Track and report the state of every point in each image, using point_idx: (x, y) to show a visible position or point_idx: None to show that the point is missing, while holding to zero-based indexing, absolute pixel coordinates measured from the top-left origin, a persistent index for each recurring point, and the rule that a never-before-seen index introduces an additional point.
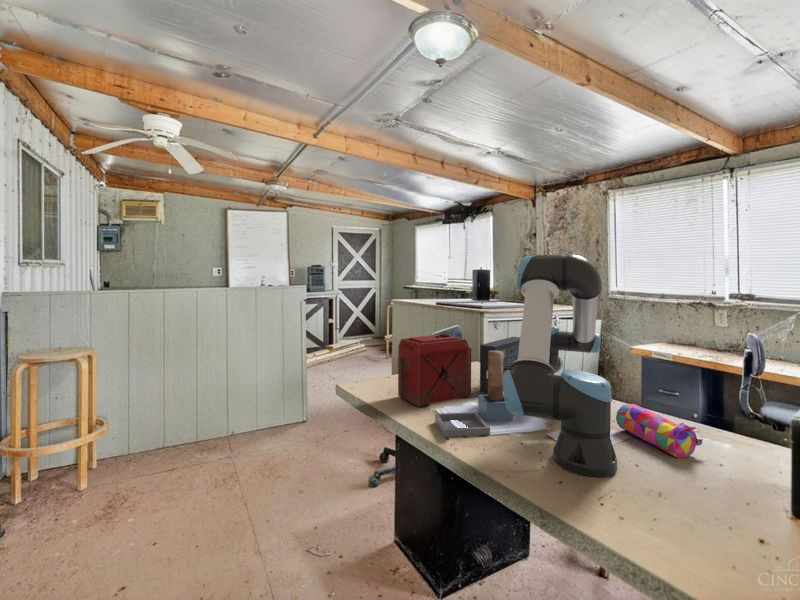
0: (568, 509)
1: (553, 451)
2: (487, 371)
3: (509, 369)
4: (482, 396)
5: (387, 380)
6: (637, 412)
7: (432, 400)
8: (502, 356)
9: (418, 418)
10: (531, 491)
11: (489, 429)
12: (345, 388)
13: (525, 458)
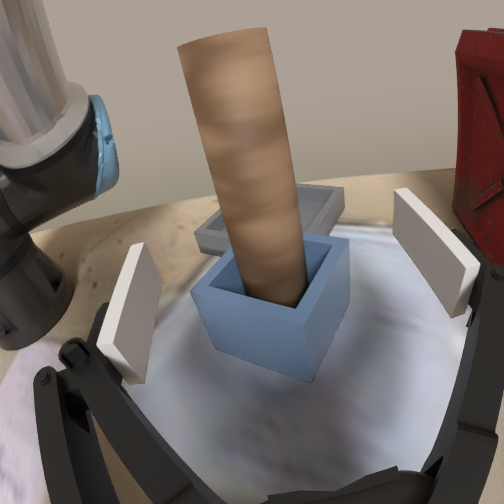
0: (55, 235)
1: (64, 273)
2: (400, 191)
3: (464, 381)
4: (322, 242)
5: None
6: None
7: (474, 225)
8: (182, 67)
9: (382, 195)
10: (88, 226)
11: (195, 234)
12: None
13: (110, 257)
